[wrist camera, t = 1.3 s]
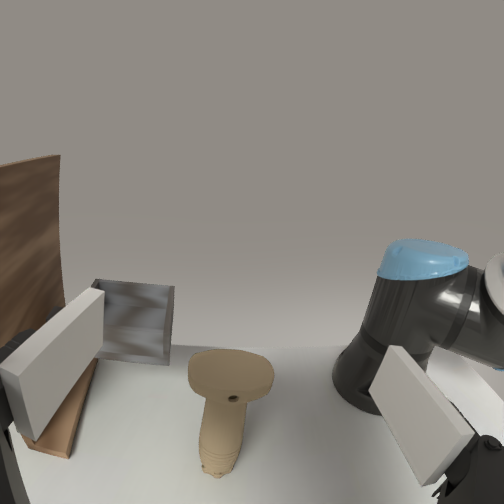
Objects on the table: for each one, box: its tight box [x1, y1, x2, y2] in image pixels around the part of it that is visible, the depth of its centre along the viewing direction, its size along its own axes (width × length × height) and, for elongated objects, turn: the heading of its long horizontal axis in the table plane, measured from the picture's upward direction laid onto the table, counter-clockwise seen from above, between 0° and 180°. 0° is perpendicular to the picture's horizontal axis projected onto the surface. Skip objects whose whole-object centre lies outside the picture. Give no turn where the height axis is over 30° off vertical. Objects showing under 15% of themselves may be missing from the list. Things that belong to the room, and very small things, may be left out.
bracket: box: [0, 155, 174, 459], centre depth 27 cm, size 16×18×28 cm
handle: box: [188, 349, 274, 478], centre depth 25 cm, size 5×6×15 cm
